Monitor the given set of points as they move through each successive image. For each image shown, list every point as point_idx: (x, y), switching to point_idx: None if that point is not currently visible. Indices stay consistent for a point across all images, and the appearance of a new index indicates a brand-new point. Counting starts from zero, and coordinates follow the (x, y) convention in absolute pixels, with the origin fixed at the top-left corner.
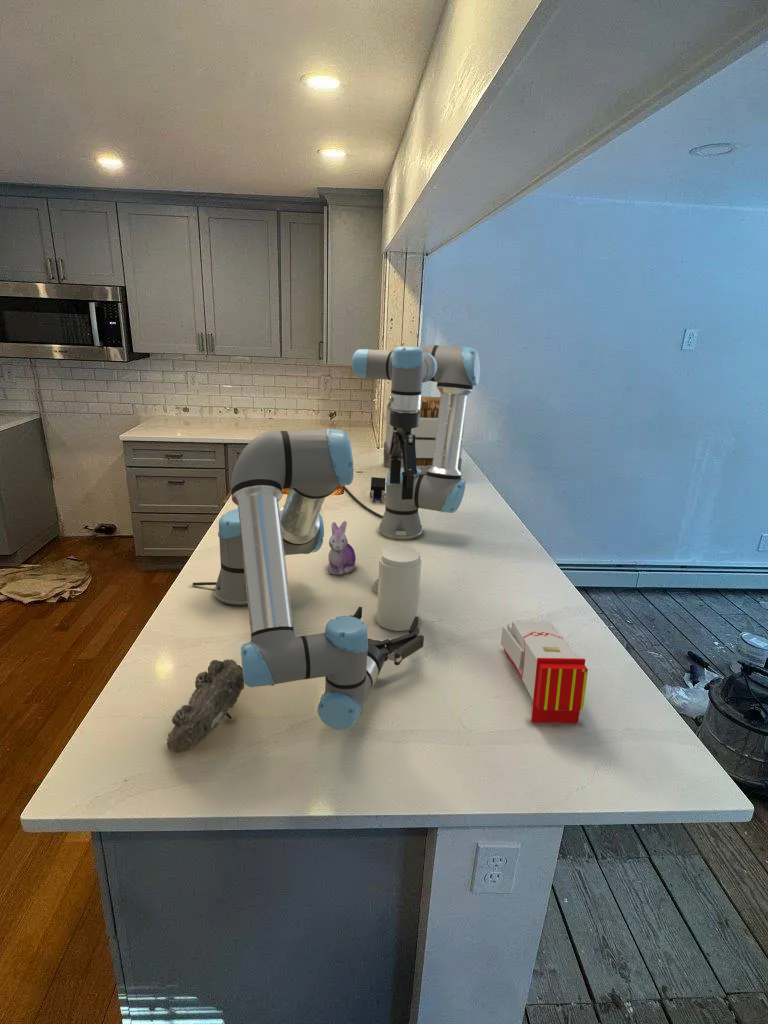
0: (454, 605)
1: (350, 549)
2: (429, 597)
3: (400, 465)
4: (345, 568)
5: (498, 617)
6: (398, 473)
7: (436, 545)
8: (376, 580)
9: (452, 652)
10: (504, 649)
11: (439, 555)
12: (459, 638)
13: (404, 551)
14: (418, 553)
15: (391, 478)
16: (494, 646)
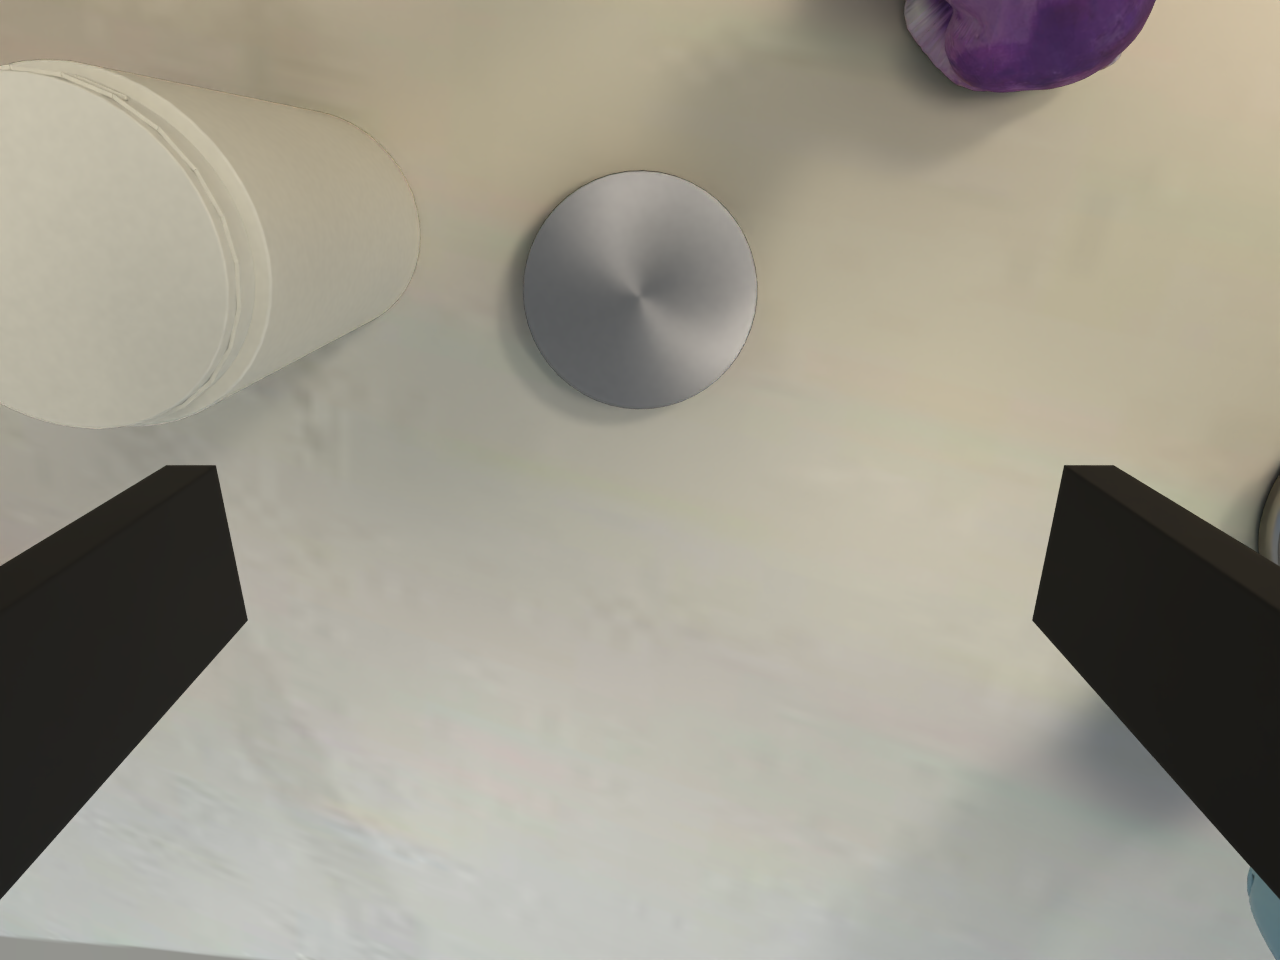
0: (454, 542)
1: (1035, 34)
2: (541, 451)
3: (1269, 875)
4: (924, 5)
5: (342, 681)
6: (1147, 702)
7: None
8: (699, 189)
9: None
10: None
11: (1001, 629)
12: None
13: (103, 308)
14: (75, 417)
15: (1114, 520)
16: None
